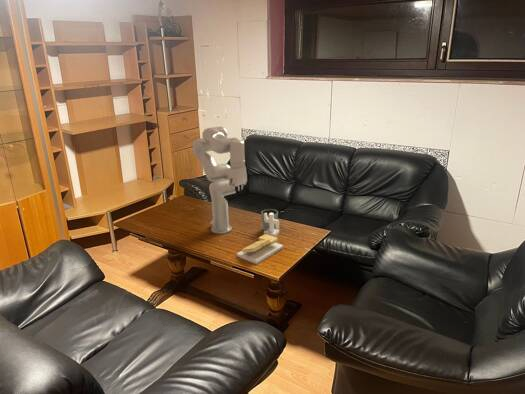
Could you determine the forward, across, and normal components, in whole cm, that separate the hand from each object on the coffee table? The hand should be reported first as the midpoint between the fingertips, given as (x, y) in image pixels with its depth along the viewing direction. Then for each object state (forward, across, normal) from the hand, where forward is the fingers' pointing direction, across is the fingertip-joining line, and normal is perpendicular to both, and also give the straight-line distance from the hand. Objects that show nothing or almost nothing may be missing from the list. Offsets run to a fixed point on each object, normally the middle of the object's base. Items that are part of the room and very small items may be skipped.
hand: (239, 196), depth 212 cm
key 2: (+24, 0, +14) cm, 28 cm away
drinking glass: (+29, -26, 0) cm, 39 cm away
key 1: (+24, -8, +14) cm, 29 cm away
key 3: (+24, +6, +14) cm, 29 cm away
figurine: (+29, -19, +7) cm, 36 cm away
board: (+29, 0, +14) cm, 32 cm away
